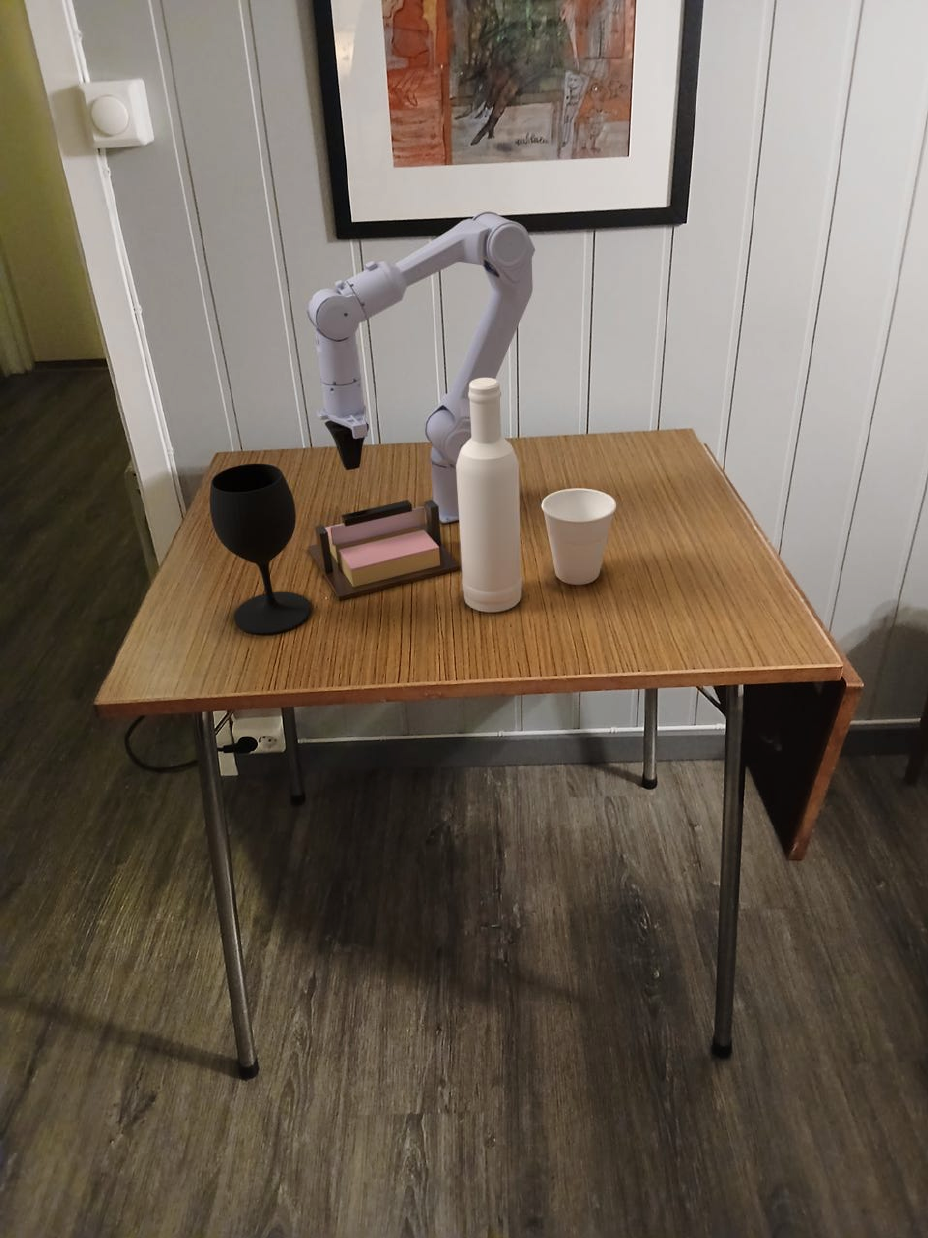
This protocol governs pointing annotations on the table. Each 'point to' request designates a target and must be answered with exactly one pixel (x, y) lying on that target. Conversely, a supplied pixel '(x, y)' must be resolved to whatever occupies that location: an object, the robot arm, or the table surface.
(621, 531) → the table surface
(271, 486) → the wine glass
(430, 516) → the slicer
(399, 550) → the pink sponge pad
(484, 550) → the bottle
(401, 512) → the knife
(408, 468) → the table surface
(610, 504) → the cup
